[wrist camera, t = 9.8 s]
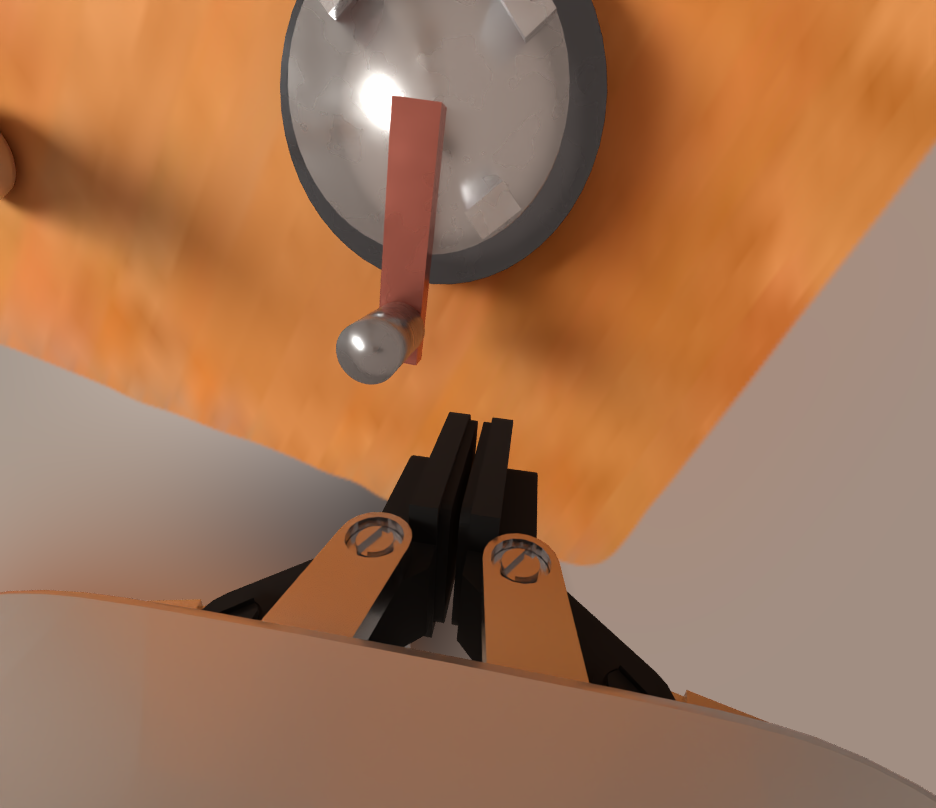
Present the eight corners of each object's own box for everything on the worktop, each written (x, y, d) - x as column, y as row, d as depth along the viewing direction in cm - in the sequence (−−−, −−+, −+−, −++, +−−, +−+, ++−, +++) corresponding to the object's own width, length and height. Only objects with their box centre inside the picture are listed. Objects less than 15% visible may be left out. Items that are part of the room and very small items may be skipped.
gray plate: (309, -99, 24) (279, -139, 21) (645, -48, 23) (659, -84, 20) (303, 249, 31) (280, 253, 29) (555, 301, 30) (556, 310, 27)
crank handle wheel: (598, -43, 20) (632, -202, 13) (517, 363, 29) (507, 421, 21) (310, -74, 22) (176, -236, 14) (312, 325, 30) (230, 366, 22)
